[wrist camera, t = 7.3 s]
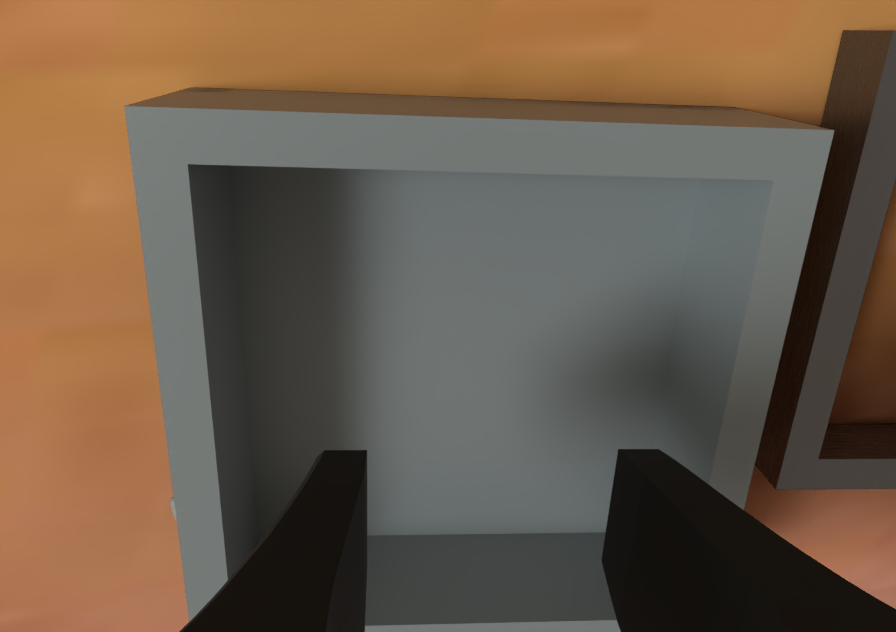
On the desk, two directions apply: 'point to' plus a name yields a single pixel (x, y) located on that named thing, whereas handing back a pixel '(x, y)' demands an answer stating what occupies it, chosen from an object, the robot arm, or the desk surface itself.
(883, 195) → the grey square frame
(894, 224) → the desk surface
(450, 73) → the desk surface
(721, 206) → the bin
